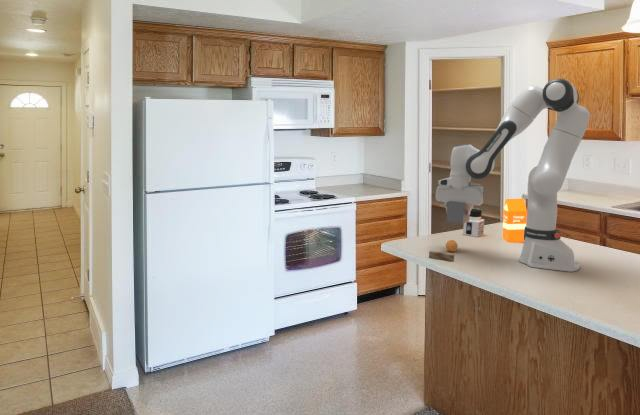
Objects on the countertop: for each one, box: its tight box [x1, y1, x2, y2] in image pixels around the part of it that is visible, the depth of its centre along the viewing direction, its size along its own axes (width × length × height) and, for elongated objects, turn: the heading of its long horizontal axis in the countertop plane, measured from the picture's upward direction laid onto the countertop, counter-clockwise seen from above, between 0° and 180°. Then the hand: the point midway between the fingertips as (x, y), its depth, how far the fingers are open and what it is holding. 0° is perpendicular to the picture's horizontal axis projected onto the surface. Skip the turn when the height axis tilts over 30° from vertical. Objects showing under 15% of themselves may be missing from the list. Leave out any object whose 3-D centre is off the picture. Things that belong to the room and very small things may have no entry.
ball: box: [445, 239, 458, 253], centre depth 228 cm, size 5×5×5 cm
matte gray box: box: [446, 201, 470, 225], centre depth 229 cm, size 7×7×9 cm
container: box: [462, 207, 485, 238], centre depth 261 cm, size 8×8×13 cm
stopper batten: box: [428, 250, 455, 262], centre depth 216 cm, size 10×2×2 cm, turn 56°
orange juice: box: [502, 198, 527, 243], centre depth 250 cm, size 8×9×20 cm
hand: (457, 213), depth 229 cm, fingers closed on matte gray box, 7 cm apart
